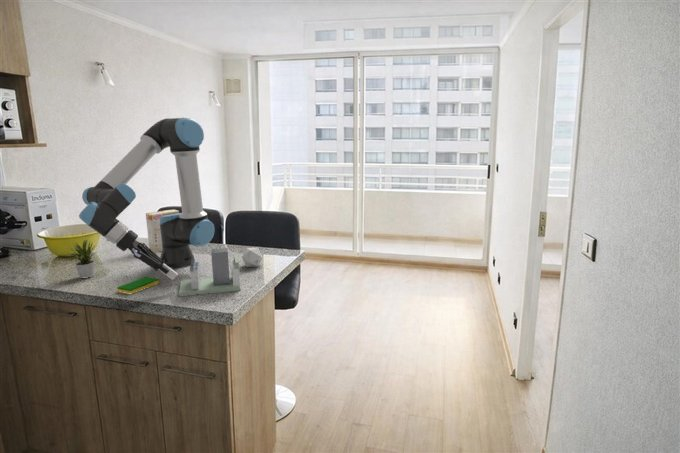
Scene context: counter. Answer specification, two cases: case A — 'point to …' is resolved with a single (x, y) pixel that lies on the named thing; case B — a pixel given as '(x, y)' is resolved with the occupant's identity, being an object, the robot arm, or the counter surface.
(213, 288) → the vise bed
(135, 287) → the dish sponge
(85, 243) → the house plant
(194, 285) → the sliding jaw
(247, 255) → the die
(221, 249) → the steel block
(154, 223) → the coffeecake box
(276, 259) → the counter surface
